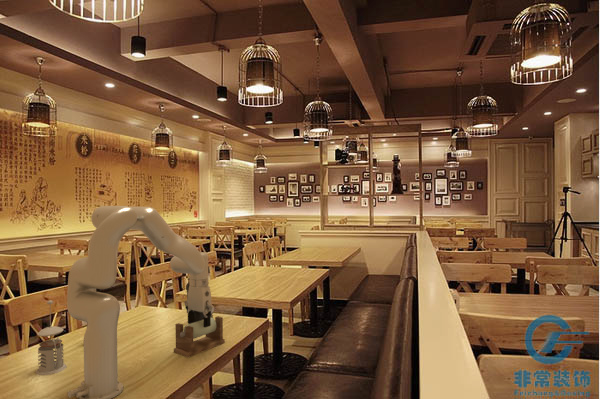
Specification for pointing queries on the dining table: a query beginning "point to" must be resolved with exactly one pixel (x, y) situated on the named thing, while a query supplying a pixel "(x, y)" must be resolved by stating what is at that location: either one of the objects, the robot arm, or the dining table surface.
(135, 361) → the dining table surface
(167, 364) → the dining table surface
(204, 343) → the holder
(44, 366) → the french press
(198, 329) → the roll
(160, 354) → the dining table surface
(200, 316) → the water bottle
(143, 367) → the dining table surface
